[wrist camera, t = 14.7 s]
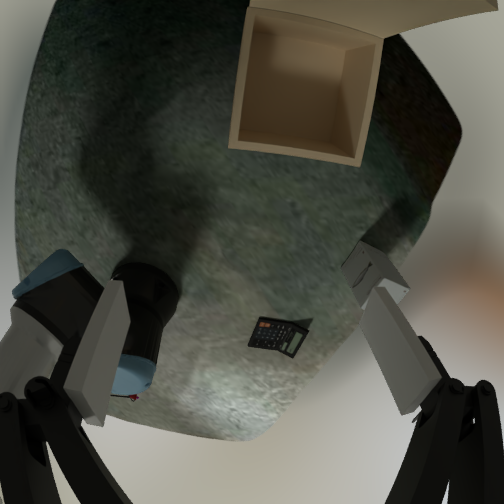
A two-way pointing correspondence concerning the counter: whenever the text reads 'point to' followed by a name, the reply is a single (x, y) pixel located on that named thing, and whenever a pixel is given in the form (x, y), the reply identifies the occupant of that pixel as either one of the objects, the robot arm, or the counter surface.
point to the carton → (304, 87)
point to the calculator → (278, 336)
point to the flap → (380, 12)
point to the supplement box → (372, 274)
